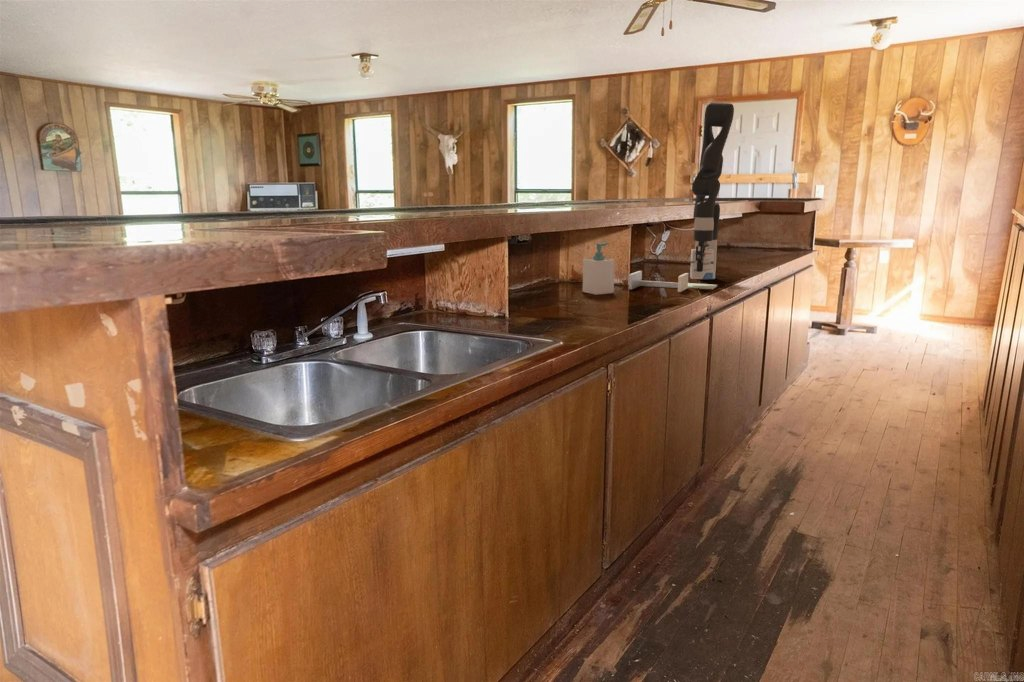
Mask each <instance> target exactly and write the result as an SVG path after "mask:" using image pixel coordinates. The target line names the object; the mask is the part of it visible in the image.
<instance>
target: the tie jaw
mask: <svg viewBox="0 0 1024 682" xmlns="http://www.w3.org/2000/svg"><path fill="white" fill-rule="evenodd" d="M689 276H690V272H684V273H682V274H680V275H679V276H678V277H677V279H678V280H677V283H678V288H677V292H678V293H682V292H684V291H686V289H689V288H688V283H689Z"/></svg>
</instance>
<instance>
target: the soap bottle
mask: <svg viewBox="0 0 1024 682" xmlns="http://www.w3.org/2000/svg"><path fill="white" fill-rule="evenodd" d="M609 244H610V243H609V242H601V243H600V242H599V243H596V242H594V245H596V250H597V251H596V252H595V253H594V255H592V258H583V259H582V260H583V261H582V264H583V265H582V292H583V293H586V294H589V295H591V294H592V295H596V296H598V295H607V294H613V293H614V291H615V290H614V289H615V287H614V286H615V259H610V258H605V255H603V254H604V252H602V251H601V250H602V247H604V246H607V245H609Z"/></svg>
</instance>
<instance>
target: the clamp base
mask: <svg viewBox="0 0 1024 682" xmlns="http://www.w3.org/2000/svg"><path fill="white" fill-rule="evenodd" d="M642 279H643V270H638V271H635V272H632V273H630V274H629V275H628V290H634V289H636V288H638V287H656V288H670V289H671V288H672V289H678V282H673V281H672V282H671V281H655V280H642Z"/></svg>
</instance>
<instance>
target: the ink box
mask: <svg viewBox="0 0 1024 682" xmlns="http://www.w3.org/2000/svg"><path fill="white" fill-rule="evenodd" d="M690 251H691V252H690V268H689V278H690V279H692V280H714V279H713V265H714V250H712V249H708V250H706V255H705V257H704V261H703V271H702V272H697V261H696V249H695V248H692V249H691V250H690ZM703 254H704V253H703ZM699 258H701V257H699Z"/></svg>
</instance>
